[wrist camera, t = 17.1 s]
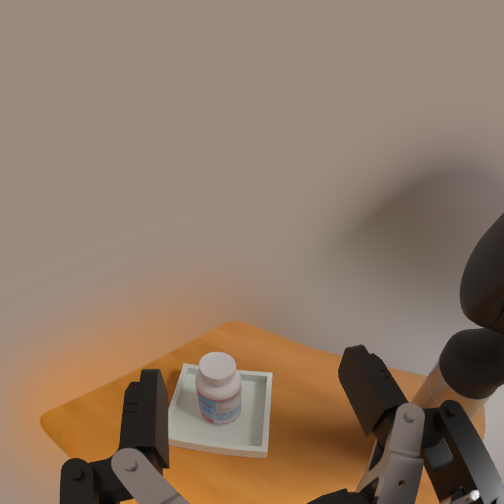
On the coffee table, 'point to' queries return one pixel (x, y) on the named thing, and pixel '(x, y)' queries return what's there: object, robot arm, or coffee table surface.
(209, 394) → the pill bottle
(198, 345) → the coffee table surface
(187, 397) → the tray
